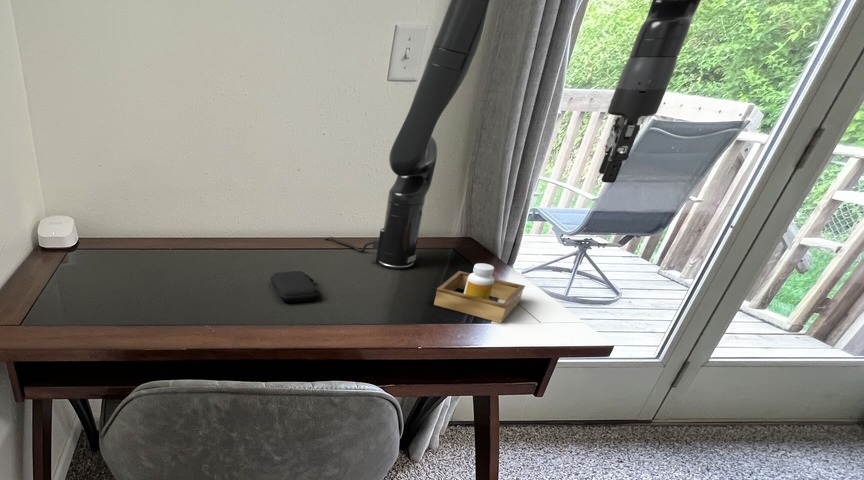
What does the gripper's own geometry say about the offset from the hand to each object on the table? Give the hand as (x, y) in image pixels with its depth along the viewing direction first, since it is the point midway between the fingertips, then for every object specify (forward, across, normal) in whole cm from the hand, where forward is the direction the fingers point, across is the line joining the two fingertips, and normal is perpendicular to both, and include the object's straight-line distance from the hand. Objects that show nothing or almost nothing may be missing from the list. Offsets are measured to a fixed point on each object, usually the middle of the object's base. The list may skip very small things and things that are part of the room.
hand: (605, 177), depth 96 cm
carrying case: (+28, +22, -57) cm, 67 cm away
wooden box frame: (+27, +10, -16) cm, 34 cm away
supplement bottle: (+28, +12, -17) cm, 35 cm away
